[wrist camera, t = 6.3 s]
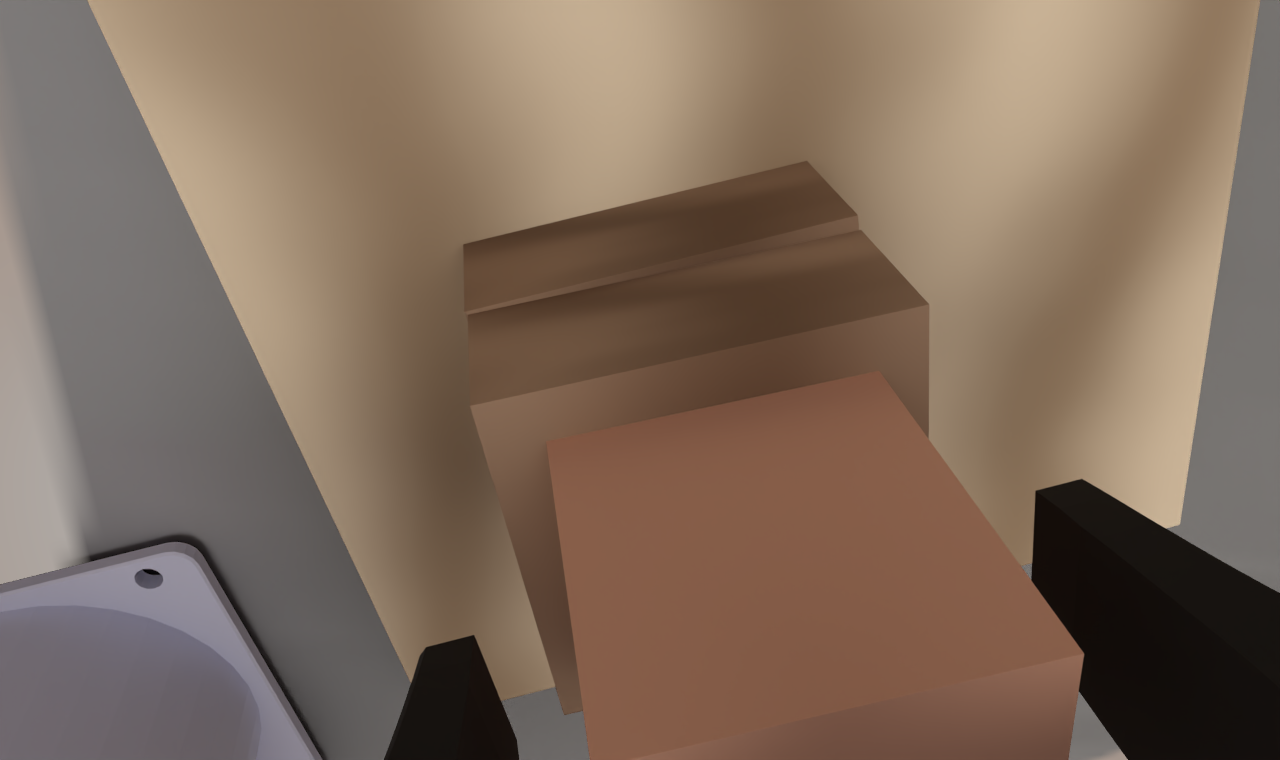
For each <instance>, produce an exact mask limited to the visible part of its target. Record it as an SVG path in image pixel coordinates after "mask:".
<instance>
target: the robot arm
mask: <svg viewBox="0 0 1280 760" xmlns="http://www.w3.org/2000/svg"><path fill="white" fill-rule="evenodd" d="M142 569H153V570H156V571H158V572H159V573H160V574H161V575H151V574H147V573H145V572H144V571H143V570H142ZM1031 581H1032V582H1033V584H1034V585H1035V586H1036V588H1037V589H1038V591H1039V592H1040V593H1041V595H1042V596H1043V598H1044V599H1045V600H1046V602H1047V603H1048V604H1049V606H1050V607H1051V609H1052V610H1053V611H1054V613H1055V614H1056V615H1057V617H1058V618H1059V620H1060V621H1061V622H1062V624H1063V625H1064V627H1065V628H1066V629H1067V631H1068V632H1069V633H1070V635H1071V636H1072V638H1073V639H1074V640H1075V642H1076V643H1077V644H1078V646H1079V647H1080V649H1081V650H1082V651H1083V653H1084V658H1083V665H1082V671H1081V678H1080V685H1079V692H1080V693H1081V695H1082V696H1083V698H1084V699H1085V700H1086V702H1087V703H1088V705H1089V706H1090V707H1091V709H1092V710H1093V712H1094V713H1095V714H1096V716H1097V717H1098V719H1099V720H1100V721H1101V723H1102V724H1103V726H1104V727H1105V728H1106V730H1107V731H1108V733H1109V734H1110V735H1111V737H1112V738H1113V740H1114V741H1115V742H1116V744H1117V745H1118V747H1119V748H1120V749H1121V751H1122V752H1123V754H1124V755H1125V756H1126V758H1127V759H1128V760H1280V593H1279V592H1277V591H1275V590H1273V589H1271V588H1269V587H1267V586H1265V585H1264V584H1262V583H1260V582H1258V581H1256V580H1254V579H1253V578H1251V577H1249V576H1247V575H1245V574H1244V573H1242V572H1240V571H1238V570H1236V569H1235V568H1233V567H1231V566H1229V565H1228V564H1226V563H1224V562H1222V561H1221V560H1219V559H1217V558H1215V557H1214V556H1212V555H1210V554H1208V553H1207V552H1205V551H1203V550H1201V549H1200V548H1198V547H1196V546H1195V545H1193V544H1191V543H1189V542H1188V541H1186V540H1184V539H1183V538H1181V537H1179V536H1178V535H1176V534H1174V533H1173V532H1171V531H1169V530H1167V529H1166V528H1164V527H1162V526H1161V525H1159V524H1157V523H1156V522H1154V521H1152V520H1151V519H1149V518H1147V517H1146V516H1144V515H1142V514H1141V513H1139V512H1137V511H1136V510H1134V509H1132V508H1131V507H1129V506H1127V505H1126V504H1124V503H1122V502H1121V501H1119V500H1117V499H1116V498H1114V497H1112V496H1111V495H1109V494H1107V493H1106V492H1104V491H1102V490H1101V489H1099V488H1097V487H1095V486H1094V485H1092V484H1090V483H1089V482H1087V481H1085V480H1083V479H1079V480H1075V481H1071V482H1067V483H1063V484H1060V485H1056V486H1052V487H1048V488H1044V489H1040V490H1036V491H1035V512H1034V534H1033V557H1032V579H1031ZM0 760H322V758H321V756H320V755H319V753H318V751H317V750H316V748H315V746H314V744H313V743H312V741H311V739H310V738H309V736H308V734H307V733H306V731H305V729H304V727H303V726H302V724H301V722H300V721H299V719H298V717H297V715H296V714H295V712H294V710H293V709H292V707H291V705H290V703H289V702H288V700H287V698H286V697H285V695H284V693H283V692H282V690H281V688H280V686H279V685H278V683H277V681H276V680H275V678H274V676H273V674H272V673H271V671H270V669H269V668H268V666H267V664H266V663H265V661H264V659H263V657H262V656H261V654H260V652H259V651H258V649H257V647H256V645H255V644H254V642H253V640H252V639H251V637H250V635H249V634H248V632H247V630H246V628H245V627H244V625H243V623H242V622H241V620H240V618H239V616H238V615H237V613H236V611H235V610H234V608H233V606H232V605H231V603H230V601H229V599H228V598H227V596H226V594H225V593H224V591H223V589H222V587H221V586H220V584H219V582H218V581H217V579H216V577H215V576H214V574H213V572H212V570H211V569H210V567H209V565H208V564H207V562H206V560H205V558H204V557H203V555H202V554H201V553H200V552H199V551H198V549H197V548H195V547H193V546H191V545H189V544H186V543H181V542H169V543H164V544H160V545H156V546H152V547H148V548H144V549H140V550H136V551H132V552H128V553H124V554H120V555H116V556H112V557H108V558H104V559H100V560H96V561H92V562H88V563H84V564H80V565H76V566H72V567H68V568H64V569H60V570H56V571H52V572H48V573H44V574H40V575H36V576H32V577H28V578H24V579H20V580H17V581H12V582H8V583H4V584H0ZM384 760H519V754H518V747H517V739H516V737H515V734H514V732H513V729H512V727H511V724H510V722H509V720H508V717H507V715H506V712H505V710H504V707H503V705H502V702H501V700H500V697H499V695H498V692H497V690H496V687H495V685H494V682H493V680H492V677H491V675H490V673H489V670H488V668H487V665H486V663H485V660H484V658H483V655H482V653H481V650H480V648H479V645H478V643H477V640H476V638H475V635H471V636H467V637H463V638H460V639H456V640H452V641H448V642H444V643H440V644H436V645H432V646H428V647H426V648H425V649H424V651H423V652H422V653H421V655H420V656H419V660H418V663H417V666H416V670H415V673H414V676H413V679H412V682H411V685H410V688H409V691H408V694H407V697H406V700H405V703H404V706H403V709H402V712H401V715H400V718H399V721H398V723H397V726H396V729H395V731H394V734H393V737H392V740H391V742H390V745H389V748H388V751H387V753H386V756H385V758H384Z"/></svg>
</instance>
